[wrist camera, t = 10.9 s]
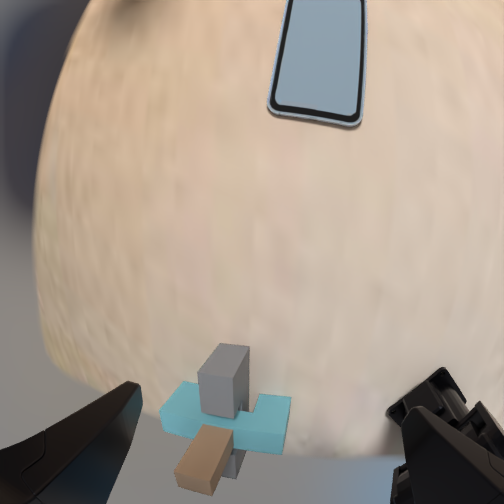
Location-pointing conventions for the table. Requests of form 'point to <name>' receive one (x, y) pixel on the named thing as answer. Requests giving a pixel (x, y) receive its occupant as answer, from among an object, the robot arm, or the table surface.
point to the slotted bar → (226, 391)
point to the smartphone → (321, 61)
